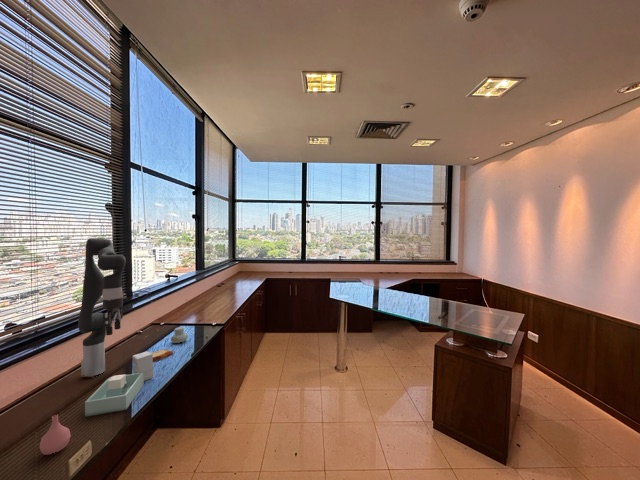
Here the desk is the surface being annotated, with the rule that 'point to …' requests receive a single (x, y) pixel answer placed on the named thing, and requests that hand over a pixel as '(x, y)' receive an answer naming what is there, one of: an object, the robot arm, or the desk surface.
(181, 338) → the air freshener
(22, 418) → the desk surface
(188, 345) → the desk surface
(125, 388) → the tin block
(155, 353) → the slice of bread
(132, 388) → the tote
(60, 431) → the pink vase
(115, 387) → the cream box
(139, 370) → the supplement box
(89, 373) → the robot arm
